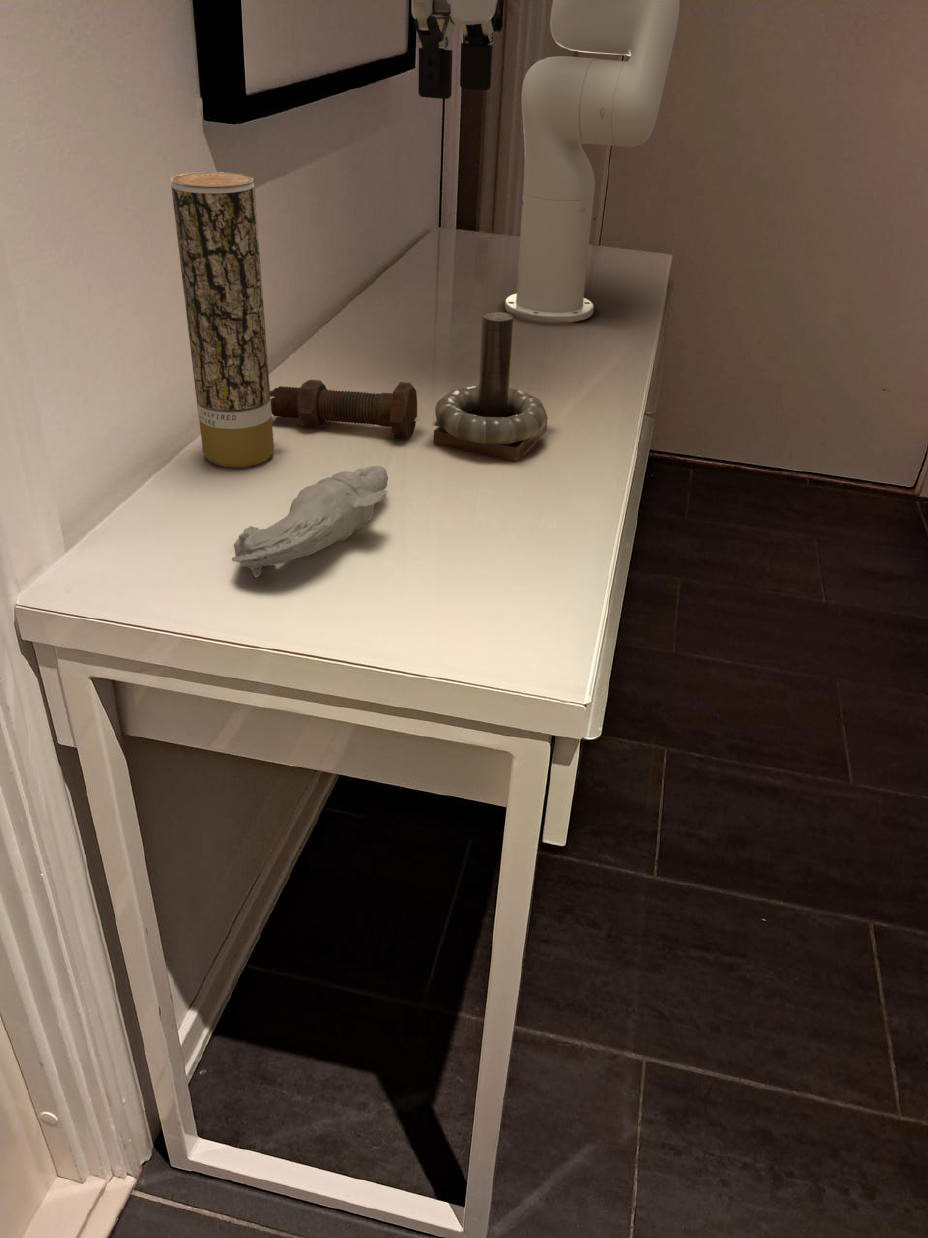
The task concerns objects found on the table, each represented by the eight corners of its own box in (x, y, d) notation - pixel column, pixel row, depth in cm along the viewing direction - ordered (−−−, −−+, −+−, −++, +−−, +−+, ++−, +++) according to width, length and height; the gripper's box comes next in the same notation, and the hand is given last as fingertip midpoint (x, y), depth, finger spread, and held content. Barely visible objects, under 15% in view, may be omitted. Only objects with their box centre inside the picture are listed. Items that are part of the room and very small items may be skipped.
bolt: (278, 432, 106) (414, 443, 104) (260, 425, 101) (403, 437, 99) (283, 377, 106) (420, 387, 103) (265, 367, 101) (408, 378, 98)
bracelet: (462, 398, 107) (463, 375, 106) (560, 418, 104) (562, 394, 102) (416, 434, 99) (416, 409, 97) (520, 456, 95) (522, 431, 94)
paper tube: (259, 474, 93) (235, 189, 80) (191, 465, 94) (156, 182, 81) (284, 446, 99) (265, 175, 85) (220, 438, 100) (191, 169, 86)
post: (468, 414, 108) (473, 298, 101) (546, 430, 105) (557, 311, 98) (433, 444, 101) (435, 321, 94) (516, 461, 98) (524, 336, 91)
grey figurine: (287, 465, 92) (200, 537, 75) (402, 435, 89) (340, 503, 72) (306, 516, 94) (225, 598, 76) (419, 489, 91) (363, 568, 73)
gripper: (461, -117, 96) (456, 83, 106) (378, -133, 83) (381, 97, 92) (534, -116, 94) (522, 88, 103) (461, -132, 80) (454, 104, 90)
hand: (455, 92), depth 98 cm, fingers open, 9 cm apart
